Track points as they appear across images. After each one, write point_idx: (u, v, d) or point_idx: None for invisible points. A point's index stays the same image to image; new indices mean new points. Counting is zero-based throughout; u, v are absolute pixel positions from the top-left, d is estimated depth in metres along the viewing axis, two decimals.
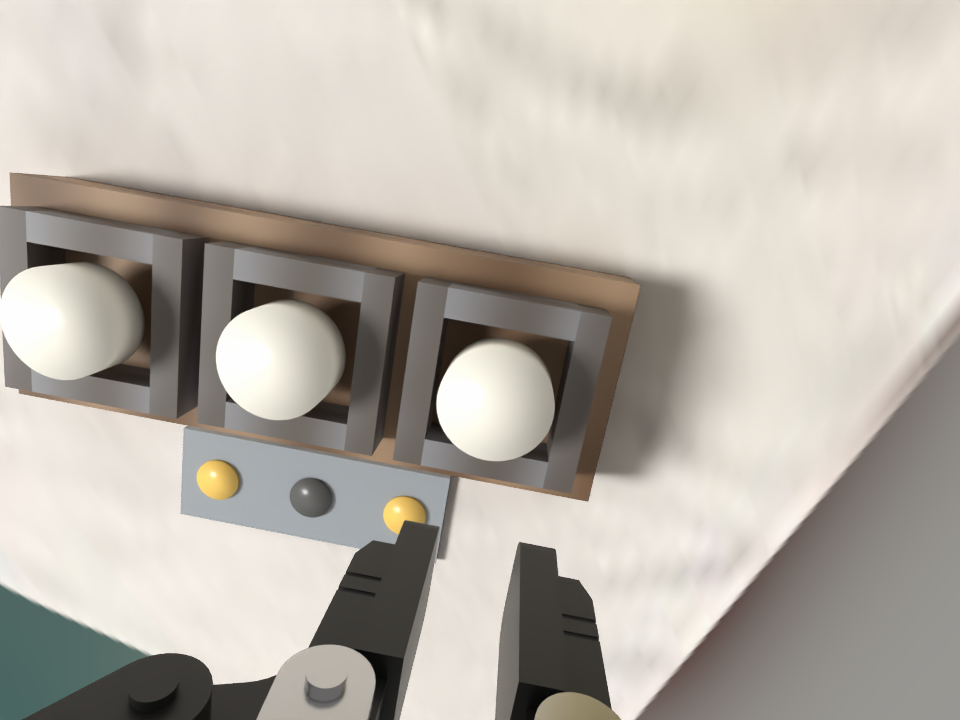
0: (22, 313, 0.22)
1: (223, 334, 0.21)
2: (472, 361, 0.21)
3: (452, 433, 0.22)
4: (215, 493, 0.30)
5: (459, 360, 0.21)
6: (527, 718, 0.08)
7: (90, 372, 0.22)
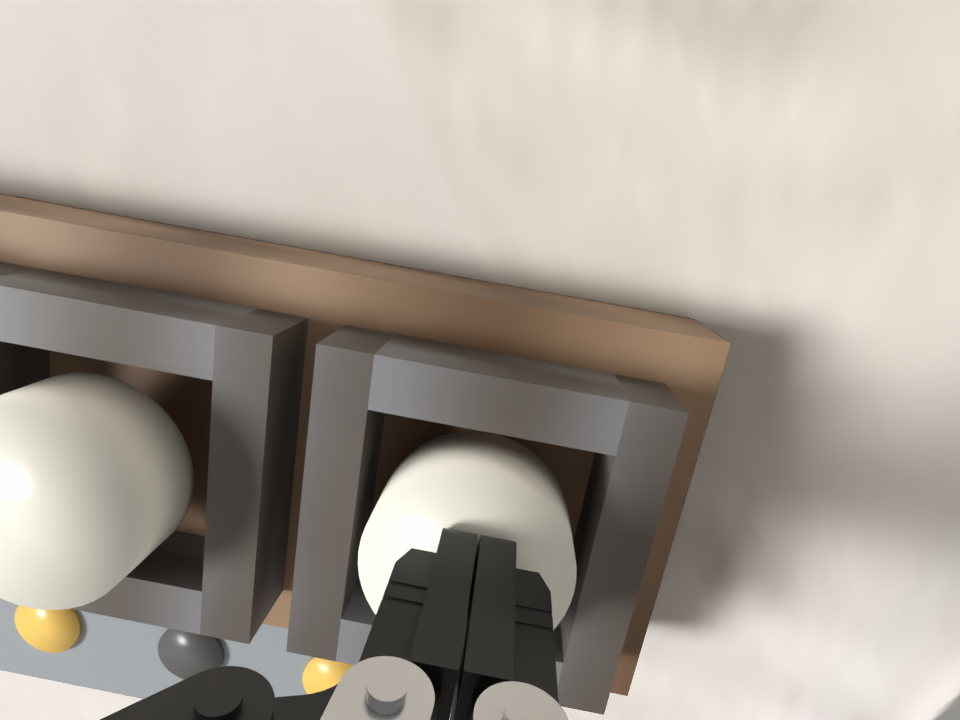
0: None
1: None
2: (422, 492, 0.11)
3: None
4: (45, 643, 0.20)
5: (398, 489, 0.11)
6: (471, 707, 0.08)
7: None
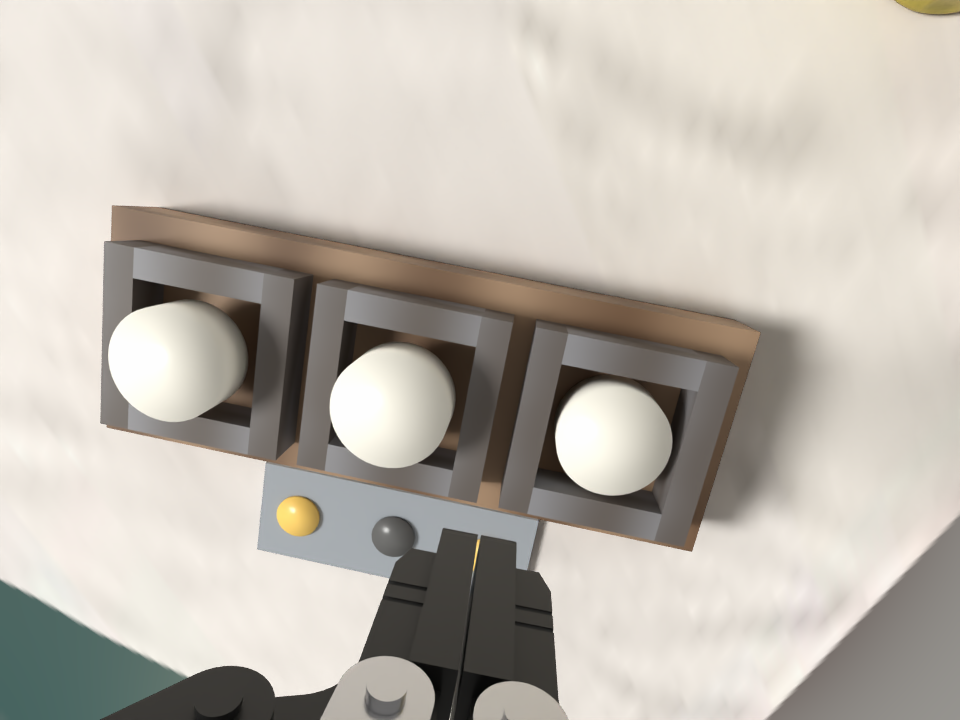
0: (131, 353, 0.21)
1: (339, 379, 0.21)
2: (594, 399, 0.22)
3: (570, 467, 0.22)
4: (295, 530, 0.30)
5: (581, 398, 0.22)
6: (471, 707, 0.08)
7: (198, 414, 0.22)
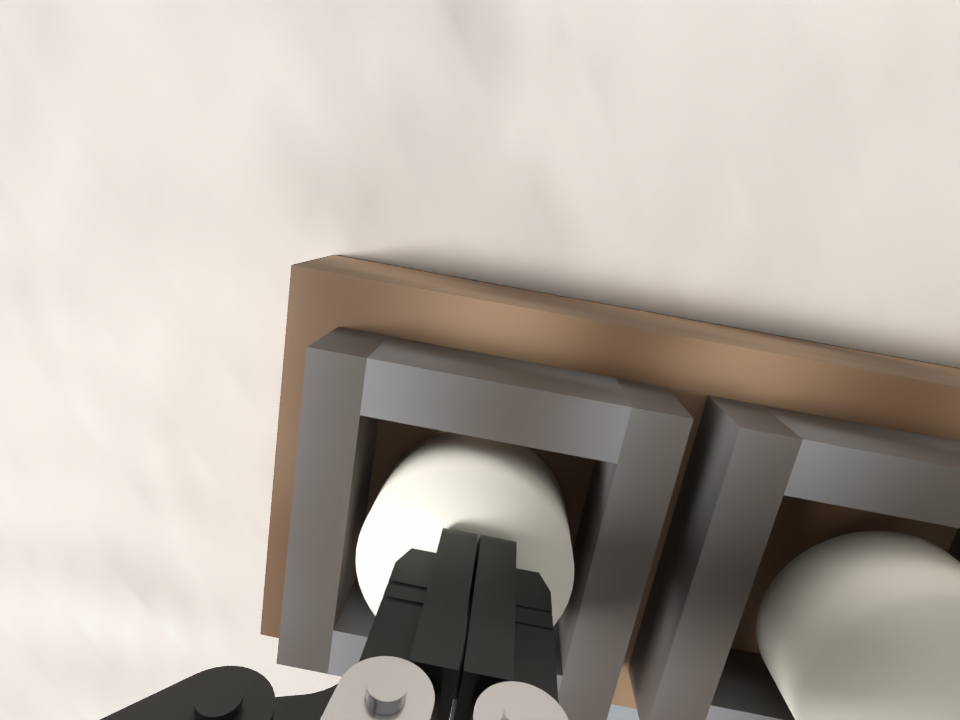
0: (400, 548, 0.11)
1: (836, 643, 0.10)
2: None
3: None
4: None
5: None
6: (471, 707, 0.08)
7: None
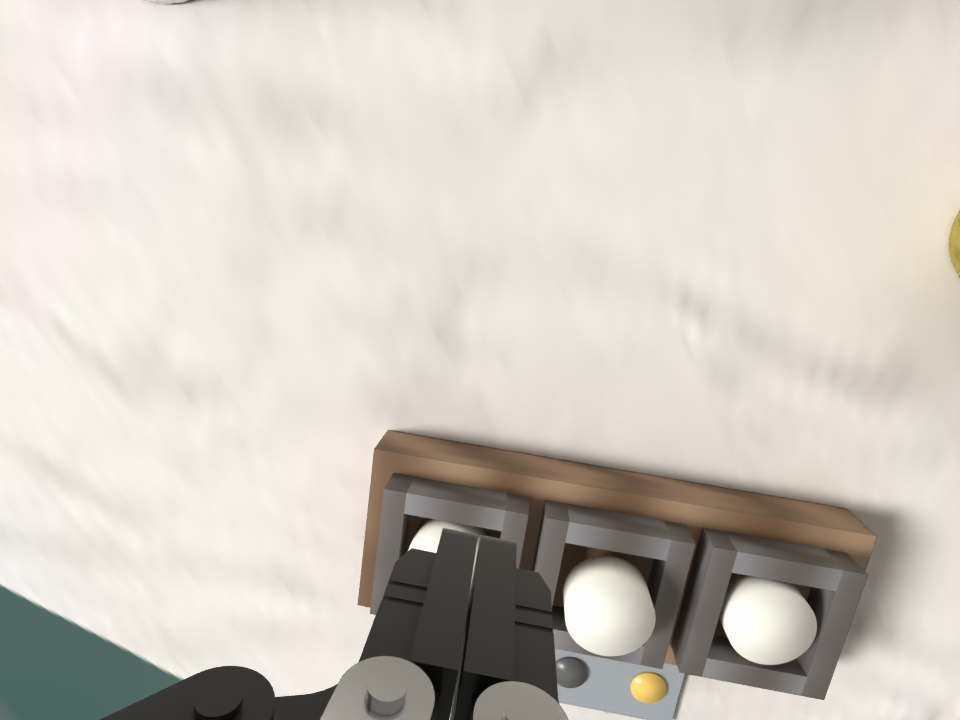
0: None
1: (574, 596, 0.28)
2: (757, 598, 0.29)
3: (737, 645, 0.30)
4: None
5: (747, 597, 0.29)
6: (471, 707, 0.08)
7: None
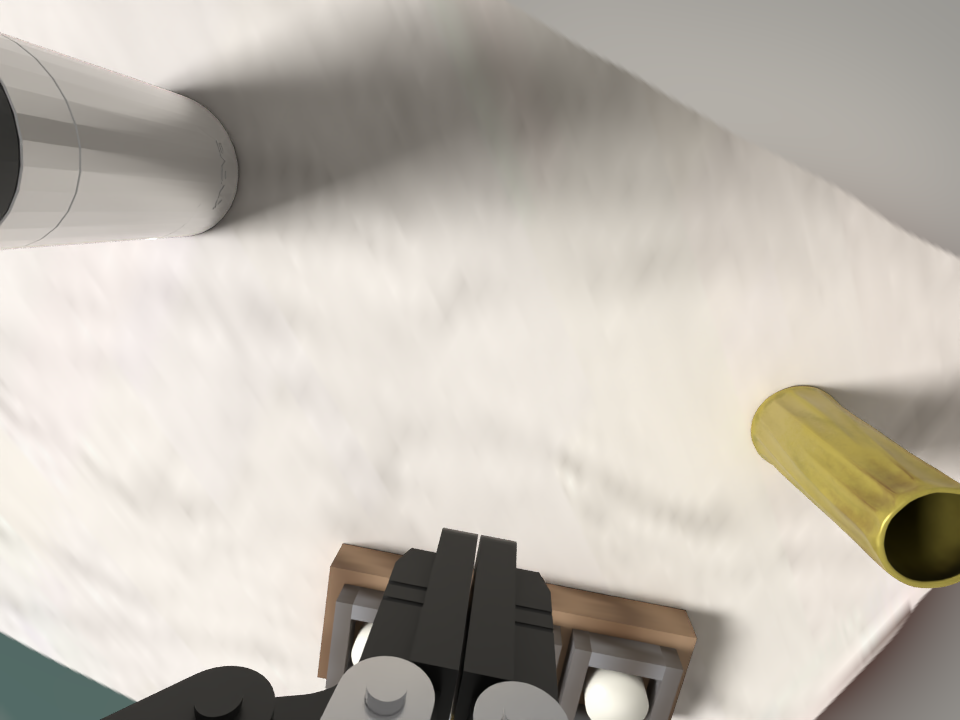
0: None
1: None
2: (606, 684, 0.40)
3: (593, 716, 0.41)
4: None
5: (599, 683, 0.40)
6: (471, 707, 0.08)
7: None
